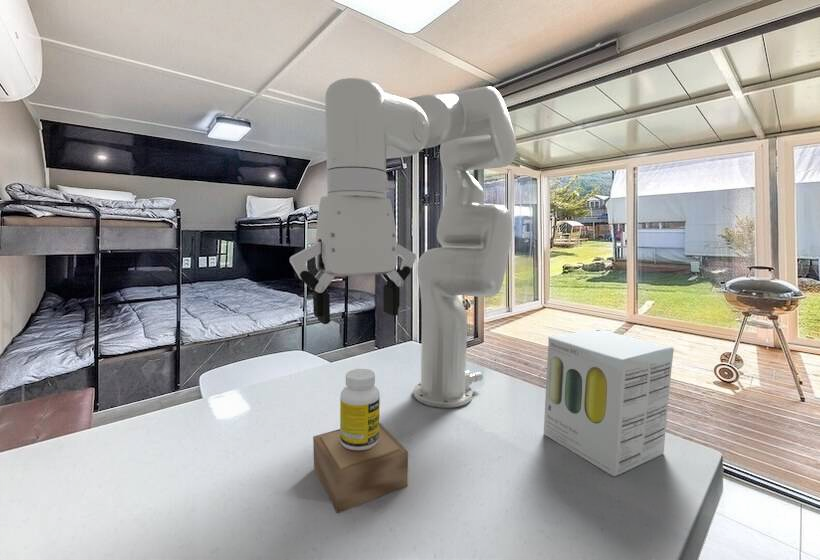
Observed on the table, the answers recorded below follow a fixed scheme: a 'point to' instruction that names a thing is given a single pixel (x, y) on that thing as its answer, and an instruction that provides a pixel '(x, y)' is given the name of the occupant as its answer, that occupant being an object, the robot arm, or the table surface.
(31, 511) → the table surface
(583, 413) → the supplement box
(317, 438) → the brown square tray
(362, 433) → the supplement bottle
